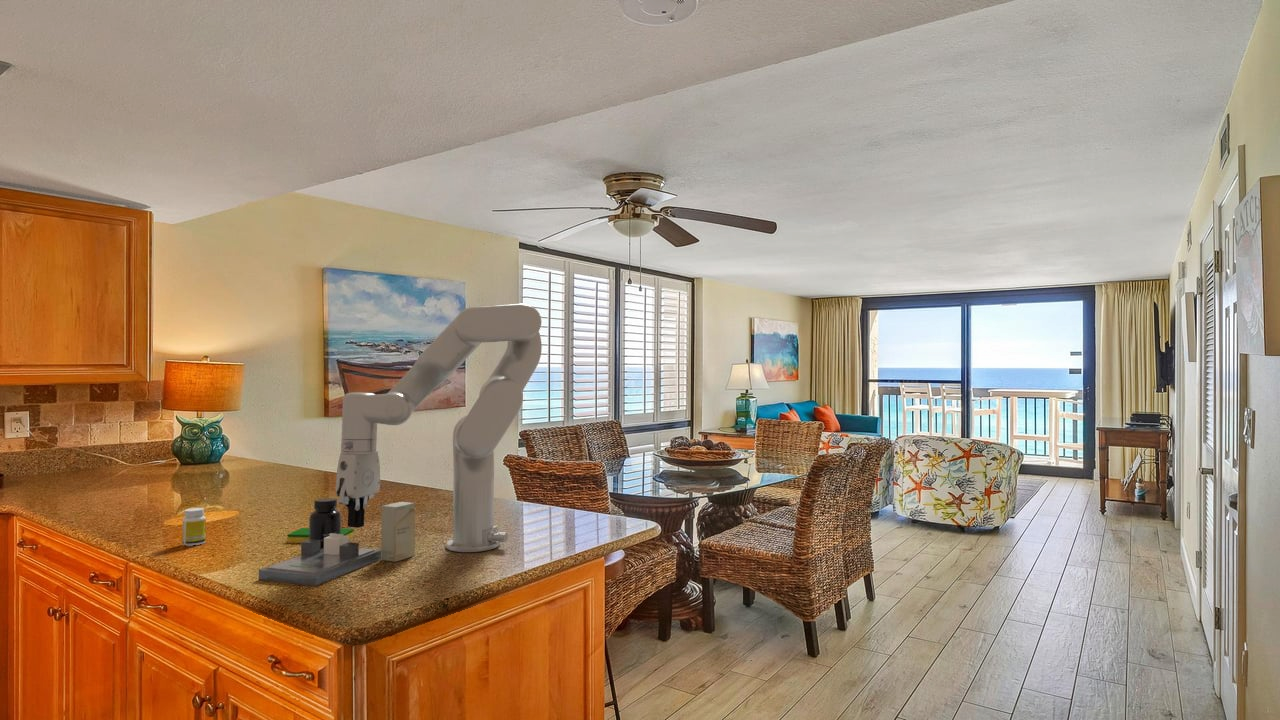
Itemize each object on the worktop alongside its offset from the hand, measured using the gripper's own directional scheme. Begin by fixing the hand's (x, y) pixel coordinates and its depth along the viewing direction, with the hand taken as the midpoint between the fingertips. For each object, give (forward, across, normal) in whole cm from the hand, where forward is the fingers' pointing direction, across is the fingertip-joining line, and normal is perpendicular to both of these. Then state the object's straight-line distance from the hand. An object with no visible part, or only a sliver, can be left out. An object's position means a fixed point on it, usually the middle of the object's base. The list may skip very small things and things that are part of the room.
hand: (355, 526), depth 159 cm
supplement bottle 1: (+8, -3, +44) cm, 45 cm away
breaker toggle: (+4, -7, -1) cm, 8 cm away
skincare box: (+6, +1, -11) cm, 13 cm away
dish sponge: (+8, +10, +18) cm, 22 cm away
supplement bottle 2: (+7, +1, +9) cm, 12 cm away
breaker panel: (+7, -11, -1) cm, 13 cm away
